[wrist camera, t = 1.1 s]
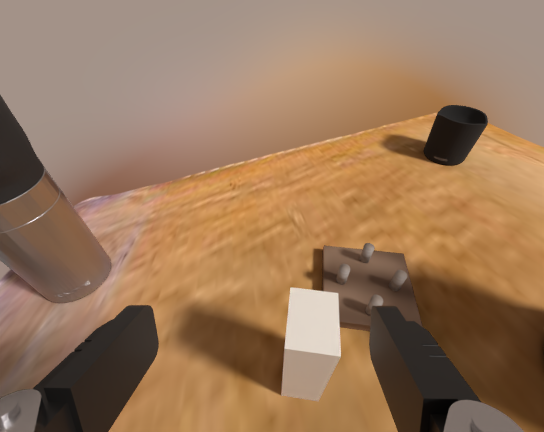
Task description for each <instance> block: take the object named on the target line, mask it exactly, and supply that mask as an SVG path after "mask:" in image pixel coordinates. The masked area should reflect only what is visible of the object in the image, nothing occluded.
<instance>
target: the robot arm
mask: <svg viewBox="0 0 544 432" xmlns="http://www.w3.org/2000/svg"><path fill="white" fill-rule="evenodd" d="M0 260H1V261H2V262H3V263H4V264H6V265H7V266H8V267H9V268H10V269H11V270H13V271H14V272H15V273H16V274H17V275H19V276H20V277H21V278H22V279H23V280H25V281H26V282H27V283H28V284H29V285H30V286H32V287H33V288H34V289H35V290H37V291H38V292H39V293H40V294H41V295H43V296H44V297H45V298H46V299H48V300H49V301H51V302H56V303H67V302H72V301H75V300H78V299H81V298H83V297H84V296H86V295H88V294H90V293H91V292H93V291H94V290H95V289H97V288H98V287H99V286H100V285H101V284H102V283H103V282H104V280H105V279H106V278H107V276H108V274H109V272H110V269H111V260H110V258H109V256H108V255H107V253H106V252H105V251H104V249H103V248H102V246H101V245H100V244H99V242H98V241H97V239H96V238H95V236H94V235H93V234H92V232H91V231H90V229H89V228H88V227H87V225H86V224H85V223H84V221H83V220H82V218H81V217H80V216H79V214H78V213H77V211H76V210H75V209H74V207H73V206H72V205H71V203H70V202H69V200H68V199H67V197H66V196H65V195H64V193H63V192H62V191H61V189H60V188H59V187H58V185H57V184H56V182H55V181H54V180H53V178H52V177H51V175H50V174H49V173H48V171H47V170H46V169H45V167H44V166H43V164H42V163H41V162H40V160H39V159H38V157H37V156H36V154H35V152H34V150H33V148H32V146H31V144H30V142H29V140H28V138H27V136H26V134H25V132H24V131H23V129H22V127H21V126H20V125H19V123H18V122H17V120H16V118H15V117H14V116H13V114H12V113H11V111H10V109H9V108H8V106H7V105H6V103H5V102H4V100H3V98H2V97H1V95H0ZM158 344H159V343H158V335H157V330H156V324H155V319H154V313H153V309H152V307H151V306H149V305H130V306H127V307H126V308H125V309H124V310H123V311H121V312H120V313H119V314H118V315H117V316H116V317H115V318H114V319H113V320H111V321H109V322H107V323H106V324H104V325H102V326H101V327H99V328H97V329H96V330H95V331H94V332H93V333H92V334H91V335H90V336H89V337H88V338H86V339H85V342H82V343H81V344H80V345H79V346H78V347H77V348H76V349H75V351H74V352H72V353H70V354H69V355H68V356H67V357H66V358H65V359H64V360H63V361H62V362H61V363H60V364H59V365H58V366H57V367H56V368H54V369H53V370H52V371H51V372H50V373H49V374H48V375H47V376H46V377H45V378H44V379H43V380H42V381H41V382H40V383H39V384H37V385H36V386H35V387H34V388H33V389H25V390H20V391H16V392H14V393H11V394H8V395H6V396H4V397H2V398H0V432H108V431H109V430H110V428H111V427H112V425H113V423H114V422H115V420H116V419H117V417H118V416H119V414H120V413H121V411H122V409H123V408H124V406H125V405H126V403H127V402H128V400H129V398H130V397H131V395H132V394H133V392H134V391H135V389H136V388H137V386H138V384H139V383H140V381H141V380H142V378H143V377H144V375H145V374H146V372H147V370H148V369H149V367H150V366H151V364H152V363H153V361H154V359H155V357H156V355H157V351H158ZM369 345H370V355H371V360H372V363H373V366H374V369H375V371H376V374H377V377H378V379H379V382H380V385H381V387H382V390H383V393H384V395H385V398H386V401H387V403H388V406H389V409H390V411H391V414H392V417H393V419H394V422H395V425H396V427H397V430H398V432H524V431H523V430H522V429H521V428H520V427H519V426H518V425H517V424H516V423H515V422H514V421H513V420H512V419H510V418H509V417H508V416H506V415H505V414H504V413H502V412H500V411H499V410H497V409H495V408H493V407H491V406H489V405H487V404H484V403H481V401H480V400H479V399H478V397H477V396H476V395H475V393H474V392H473V391H472V389H471V388H470V386H469V385H468V384H467V382H466V381H465V380H464V378H463V377H462V376H461V374H460V373H459V372H458V370H457V369H456V368H455V366H454V365H453V364H452V362H451V361H450V360H449V358H447V357H446V354H445V353H444V351H443V350H442V349H441V347H439V346H438V343H437V342H436V341H435V339H434V338H433V337H432V335H431V334H430V333H429V331H427V330H426V329H424V328H423V327H422V326H420V325H419V324H418V323H416V322H415V321H406V320H405V318H404V317H403V315H402V314H401V312H400V311H399V309H398V308H397V307H396V306H372V309H371V323H370V343H369Z"/></svg>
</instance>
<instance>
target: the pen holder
mask: <svg viewBox="0 0 544 432" xmlns="http://www.w3.org/2000/svg"><path fill="white" fill-rule="evenodd" d="M487 123H488V121H487V116H486V114H485V113H483V112H482V111H480V110H477V109H474V108H471V107H466V106H459V105H449V106H446V107H443V108H442V109H441V110H440V111H439V112H438V114H437V116H436V119H435V121H434V124H433V127H432V129H431V132H430V134H429V137H428V140H427V142H426V145H425V148H424V154H425V156H426V157H427V158H428V159H430V160H431V161H433V162H436V163H439V164H442V165H458V164H460V163H462V162H463V161H464V160H465V158H466V157H467V155H468V154H469V152H470V151H471V149H472V148H473V146H474V145H475V143H476V141H477V140H478V138H479V137H480V135H481V134H482V132H483V131H484V129H485V127H486V126H487Z"/></svg>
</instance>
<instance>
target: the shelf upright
mask: <svg viewBox="0 0 544 432" xmlns="http://www.w3.org/2000/svg"><path fill="white" fill-rule="evenodd" d="M340 357H341V349H340V324H339V299H338V293H333V292H325V291H317V290H308V289H300V288H292V287H291V289H290V299H289V309H288V319H287V329H286V339H285V348H284V363H283V378H282V392H281V395H283V396H289V397H295V398H301V399H307V400H313V401H319V399H320V397H321V395H322V393H323V391H324V389H325V387H326V385H327V383H328V381H329V379H330V377H331V375H332V373H333V371H334V369H335V367H336V365H337V363H338V361H339V359H340Z"/></svg>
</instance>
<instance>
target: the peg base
mask: <svg viewBox="0 0 544 432" xmlns="http://www.w3.org/2000/svg"><path fill="white" fill-rule="evenodd" d="M322 291H325V292H333V293H338V299H339V324H340V327H343V328H351V329H358V330H366V331H370V323H371V309H372V306H396V307H397V308H398V309H399V311H400V312H401V314H402V315H403V317H404V318H405V320H406V321H415V322H416V323H418V324H419V325H420V326H422V323H421V319H420V315H419V311H418V308H417V304H416V300H415V296H414V292H413V288H412V285H411V281H410V277H409V273H408V269H407V265H406V262H405V258H404V254H401V253H391V252H382V251H374V246H373V245H372V244H370V243H366V244H365V245H364V248H363V250H362V249H352V248H343V247H333V246H324V248H323V283H322Z"/></svg>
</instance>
